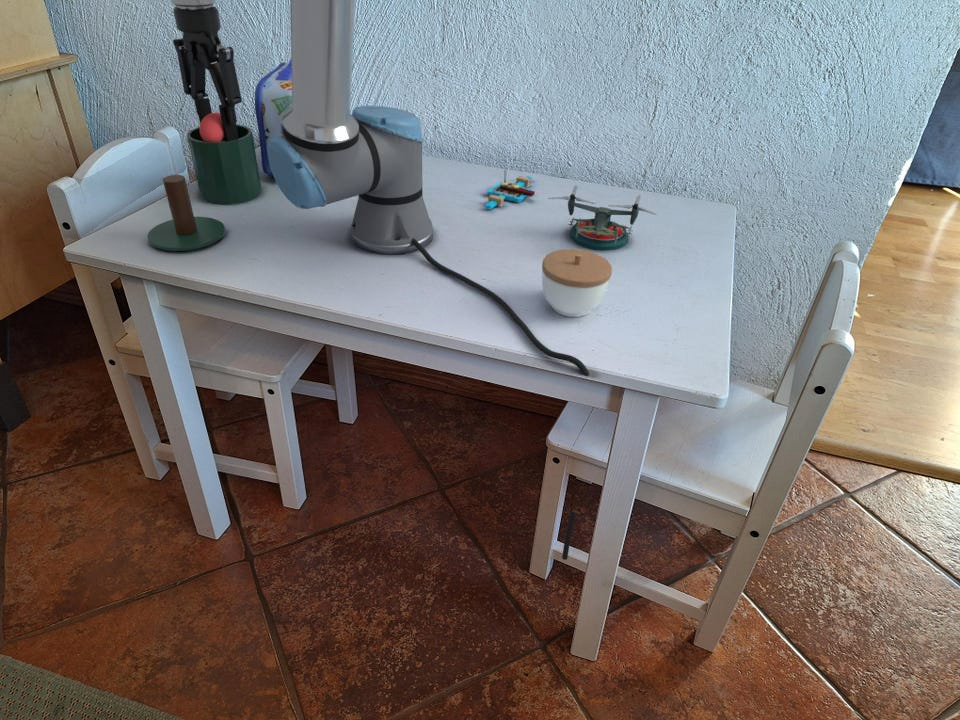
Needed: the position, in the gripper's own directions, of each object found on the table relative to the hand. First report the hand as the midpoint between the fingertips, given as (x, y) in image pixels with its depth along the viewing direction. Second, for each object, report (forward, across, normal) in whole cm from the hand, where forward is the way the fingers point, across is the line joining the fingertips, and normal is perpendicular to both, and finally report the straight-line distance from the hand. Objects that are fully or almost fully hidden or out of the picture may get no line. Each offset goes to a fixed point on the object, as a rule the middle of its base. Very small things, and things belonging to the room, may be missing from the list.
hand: (220, 136), depth 130 cm
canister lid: (+11, -10, +19) cm, 24 cm away
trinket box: (+12, -79, +1) cm, 80 cm away
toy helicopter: (+12, -73, -24) cm, 78 cm away
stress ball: (+1, 0, 0) cm, 1 cm away
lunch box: (+12, +1, -21) cm, 24 cm away
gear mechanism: (+12, -49, -34) cm, 61 cm away
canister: (+12, 0, 0) cm, 12 cm away
